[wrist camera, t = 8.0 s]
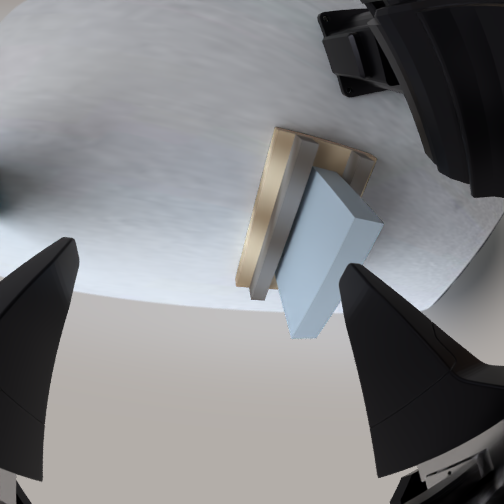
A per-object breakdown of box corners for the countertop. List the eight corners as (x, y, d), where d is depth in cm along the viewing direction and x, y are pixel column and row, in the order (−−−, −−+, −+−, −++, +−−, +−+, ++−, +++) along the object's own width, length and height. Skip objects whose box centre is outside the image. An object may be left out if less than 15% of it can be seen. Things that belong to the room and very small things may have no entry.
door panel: (312, 165, 18) (354, 217, 13) (336, 172, 19) (384, 223, 13) (274, 272, 24) (291, 338, 19) (294, 274, 24) (316, 338, 19)
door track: (275, 126, 17) (283, 135, 15) (370, 154, 19) (387, 166, 17) (235, 278, 25) (237, 298, 23) (313, 284, 27) (320, 302, 25)
